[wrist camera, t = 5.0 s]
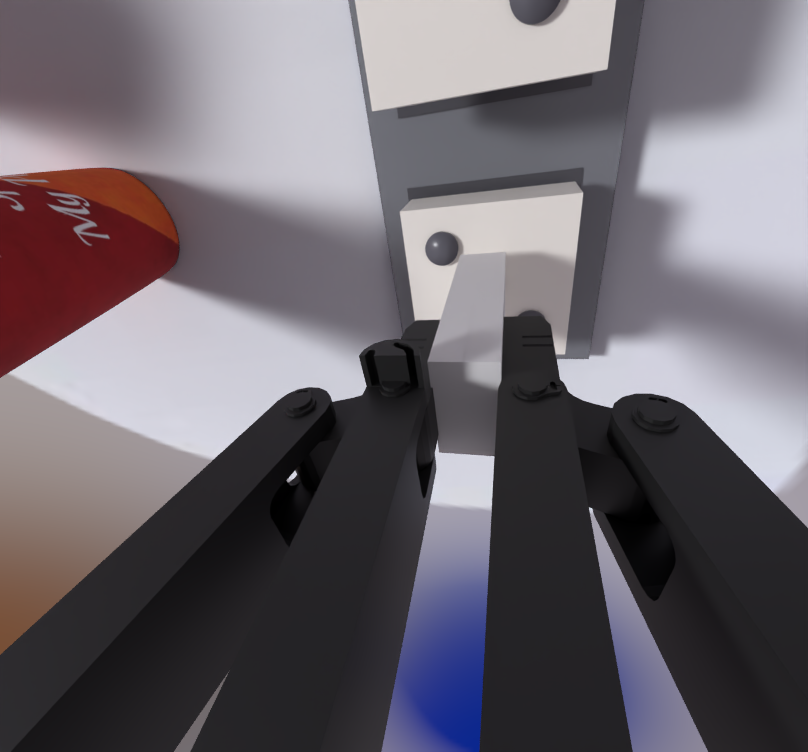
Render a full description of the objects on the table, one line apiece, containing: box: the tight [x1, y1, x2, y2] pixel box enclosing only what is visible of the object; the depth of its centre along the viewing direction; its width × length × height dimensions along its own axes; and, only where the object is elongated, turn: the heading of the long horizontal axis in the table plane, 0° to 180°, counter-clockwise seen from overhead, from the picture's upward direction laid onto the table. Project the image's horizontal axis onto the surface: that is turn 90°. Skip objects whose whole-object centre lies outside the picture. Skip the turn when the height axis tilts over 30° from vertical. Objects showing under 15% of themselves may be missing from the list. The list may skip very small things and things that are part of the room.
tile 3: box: [400, 181, 583, 354], centre depth 15 cm, size 6×6×2 cm
